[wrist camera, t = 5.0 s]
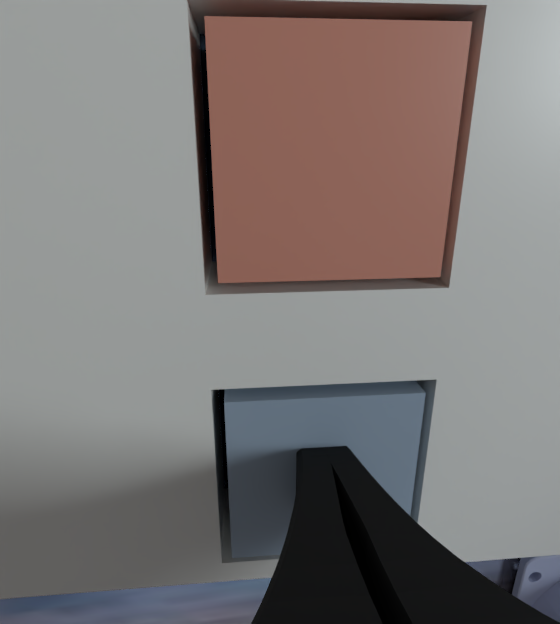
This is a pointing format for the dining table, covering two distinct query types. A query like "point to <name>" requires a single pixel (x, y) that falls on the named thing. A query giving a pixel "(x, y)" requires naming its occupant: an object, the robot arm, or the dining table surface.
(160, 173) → the key panel
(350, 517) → the robot arm
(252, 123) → the brick red key
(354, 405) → the slate blue key
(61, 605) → the dining table surface
